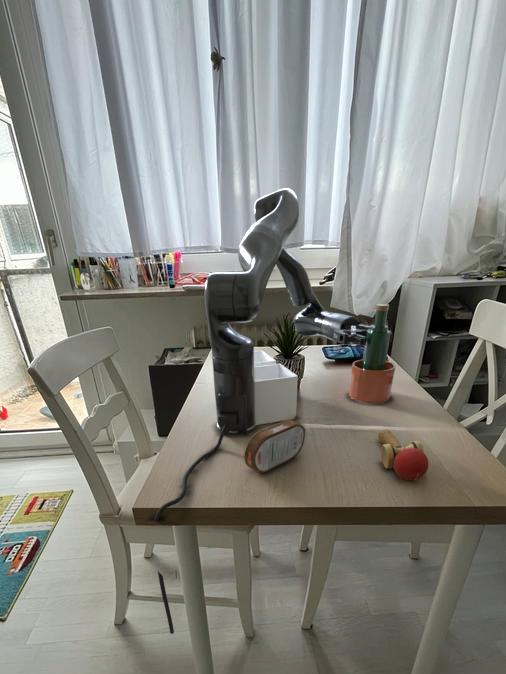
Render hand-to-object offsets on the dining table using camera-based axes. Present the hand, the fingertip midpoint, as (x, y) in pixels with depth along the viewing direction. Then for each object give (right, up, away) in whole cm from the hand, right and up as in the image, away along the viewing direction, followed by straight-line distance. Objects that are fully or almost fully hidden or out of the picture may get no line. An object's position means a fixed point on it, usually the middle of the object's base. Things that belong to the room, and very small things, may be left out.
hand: (378, 339), depth 100 cm
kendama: (-4, -33, -21) cm, 39 cm away
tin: (-28, -33, -21) cm, 48 cm away
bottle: (0, -12, +8) cm, 15 cm away
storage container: (-31, -15, +7) cm, 35 cm away
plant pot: (0, -13, +9) cm, 16 cm away
